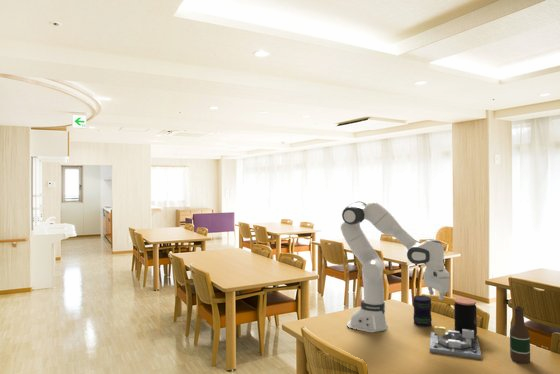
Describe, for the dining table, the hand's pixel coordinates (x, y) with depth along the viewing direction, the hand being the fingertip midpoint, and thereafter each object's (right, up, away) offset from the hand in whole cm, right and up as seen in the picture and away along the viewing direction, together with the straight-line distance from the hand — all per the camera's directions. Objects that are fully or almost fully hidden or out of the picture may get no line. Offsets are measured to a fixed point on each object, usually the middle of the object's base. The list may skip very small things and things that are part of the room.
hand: (436, 297), depth 202 cm
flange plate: (+4, -21, -12) cm, 24 cm away
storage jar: (0, -22, +20) cm, 30 cm away
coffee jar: (+17, -21, +4) cm, 27 cm away
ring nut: (+4, -19, -12) cm, 22 cm away
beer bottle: (+27, -21, -28) cm, 44 cm away
